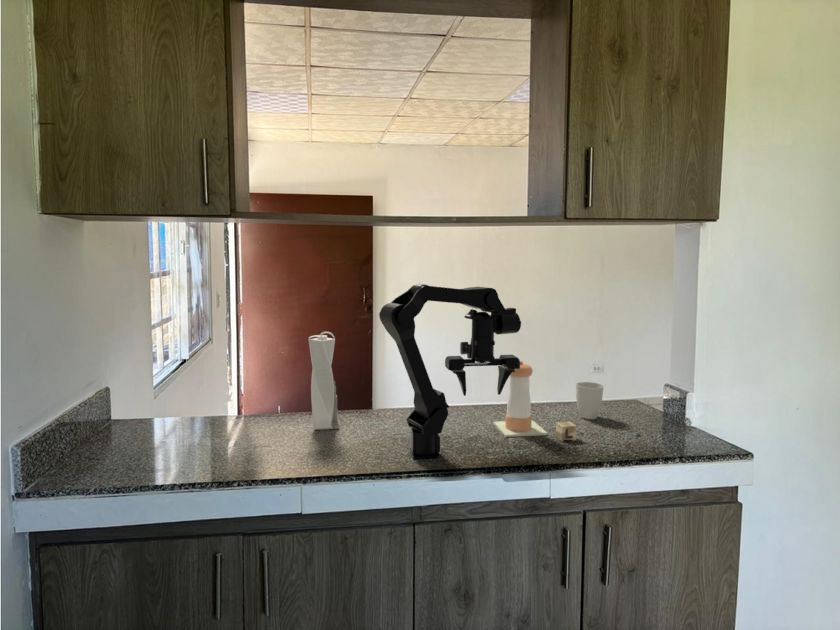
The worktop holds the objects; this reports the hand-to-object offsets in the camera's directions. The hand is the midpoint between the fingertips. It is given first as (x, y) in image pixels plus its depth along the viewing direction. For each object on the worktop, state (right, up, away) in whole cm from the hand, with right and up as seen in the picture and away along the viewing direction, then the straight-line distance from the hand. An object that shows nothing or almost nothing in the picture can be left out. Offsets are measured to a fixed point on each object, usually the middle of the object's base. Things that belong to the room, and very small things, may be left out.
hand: (481, 394), depth 146 cm
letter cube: (+24, -13, +6) cm, 27 cm away
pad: (+12, -12, +13) cm, 22 cm away
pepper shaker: (+12, -11, +13) cm, 21 cm away
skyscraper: (-43, -11, +14) cm, 47 cm away
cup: (+36, -11, +26) cm, 45 cm away
